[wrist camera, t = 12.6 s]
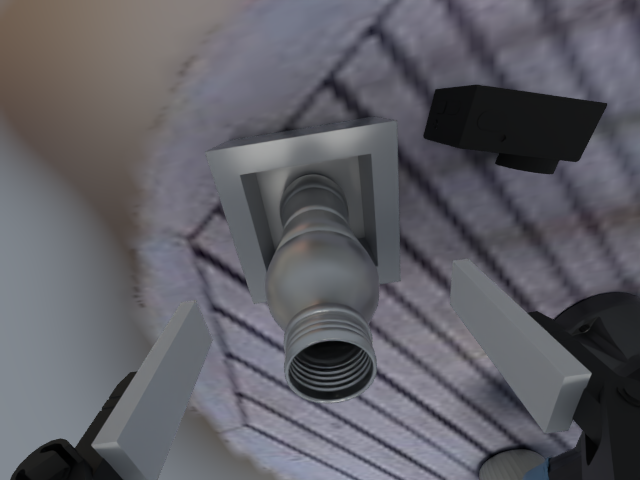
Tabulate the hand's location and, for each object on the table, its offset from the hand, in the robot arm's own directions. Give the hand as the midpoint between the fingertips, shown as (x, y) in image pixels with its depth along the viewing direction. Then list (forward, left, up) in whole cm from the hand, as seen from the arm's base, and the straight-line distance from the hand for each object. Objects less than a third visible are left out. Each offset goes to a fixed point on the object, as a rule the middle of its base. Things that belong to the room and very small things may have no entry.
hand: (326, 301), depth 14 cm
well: (0, 0, -17) cm, 17 cm away
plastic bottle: (0, 0, -16) cm, 16 cm away
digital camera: (+5, -17, -17) cm, 24 cm away
